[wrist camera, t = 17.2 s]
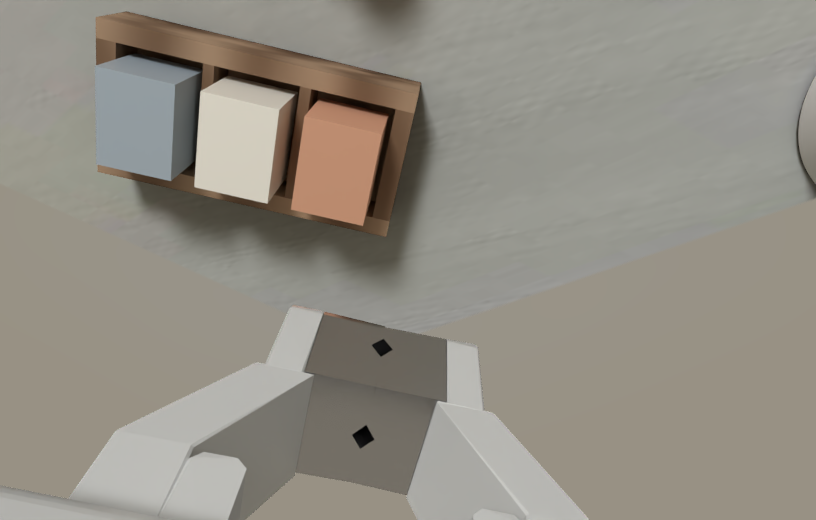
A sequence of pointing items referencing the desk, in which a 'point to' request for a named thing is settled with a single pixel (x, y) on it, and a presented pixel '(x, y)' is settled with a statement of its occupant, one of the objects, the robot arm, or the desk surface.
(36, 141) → the desk surface
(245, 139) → the ivory key
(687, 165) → the desk surface
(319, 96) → the wooden compartment tray
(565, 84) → the desk surface
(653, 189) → the desk surface
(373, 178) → the terracotta key
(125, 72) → the slate key
